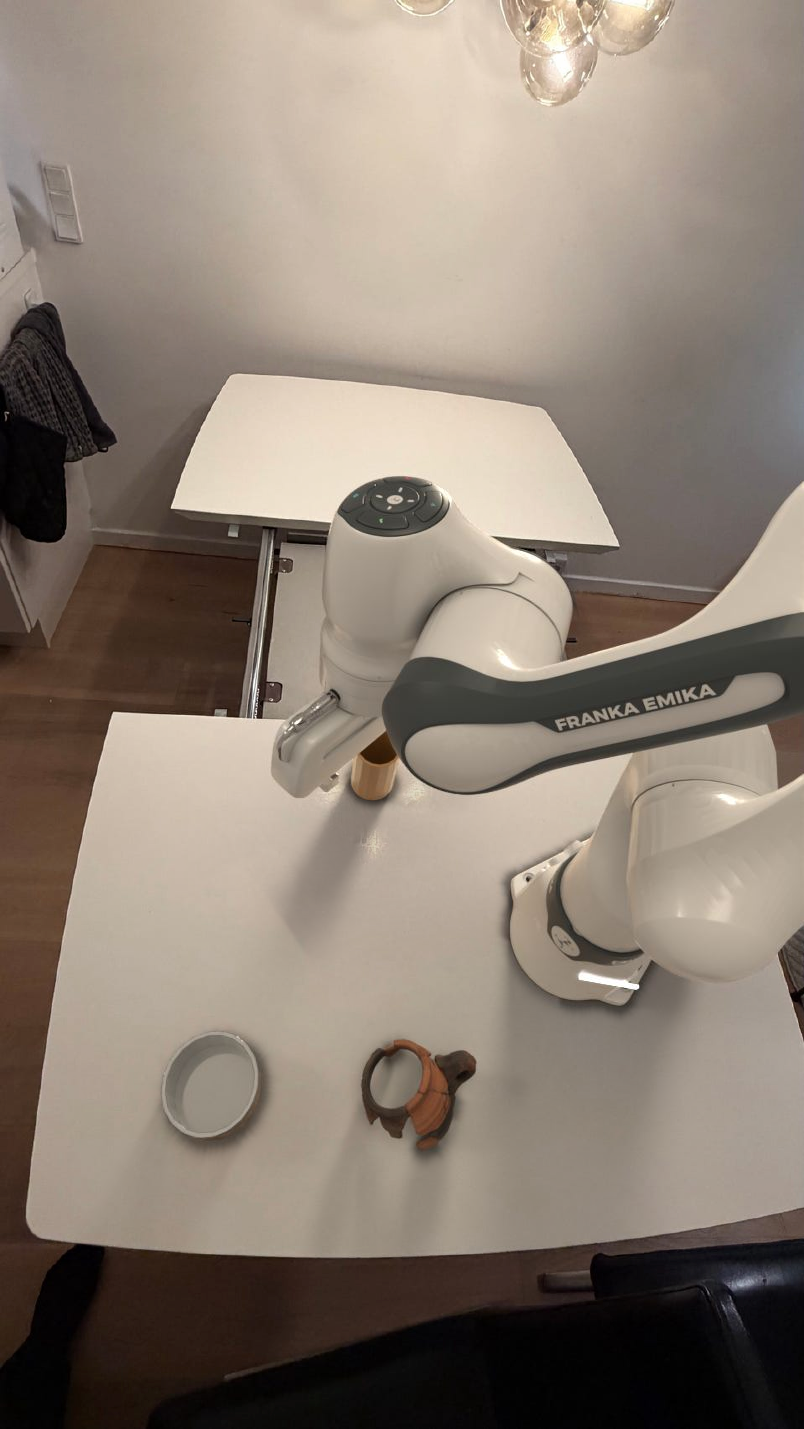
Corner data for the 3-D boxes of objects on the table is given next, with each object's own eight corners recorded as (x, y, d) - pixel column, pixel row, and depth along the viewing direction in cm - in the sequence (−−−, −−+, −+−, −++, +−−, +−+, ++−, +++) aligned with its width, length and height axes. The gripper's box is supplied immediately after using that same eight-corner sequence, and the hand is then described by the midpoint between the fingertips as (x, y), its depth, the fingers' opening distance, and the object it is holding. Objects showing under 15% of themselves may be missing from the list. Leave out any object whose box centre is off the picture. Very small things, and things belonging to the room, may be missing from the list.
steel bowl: (232, 1023, 72) (226, 1011, 66) (277, 1097, 68) (276, 1090, 63) (155, 1081, 68) (143, 1073, 62) (200, 1162, 64) (191, 1161, 59)
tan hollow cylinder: (375, 756, 93) (382, 720, 85) (401, 786, 91) (410, 751, 83) (342, 777, 90) (346, 741, 83) (368, 808, 88) (374, 774, 81)
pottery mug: (402, 1178, 66) (374, 1148, 61) (367, 1092, 74) (339, 1059, 69) (503, 1107, 68) (483, 1072, 63) (458, 1030, 76) (438, 994, 71)
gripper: (306, 760, 49) (305, 843, 59) (476, 625, 59) (448, 718, 70) (249, 709, 51) (257, 799, 62) (423, 588, 61) (404, 683, 72)
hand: (360, 755), depth 66 cm, fingers open, 8 cm apart
